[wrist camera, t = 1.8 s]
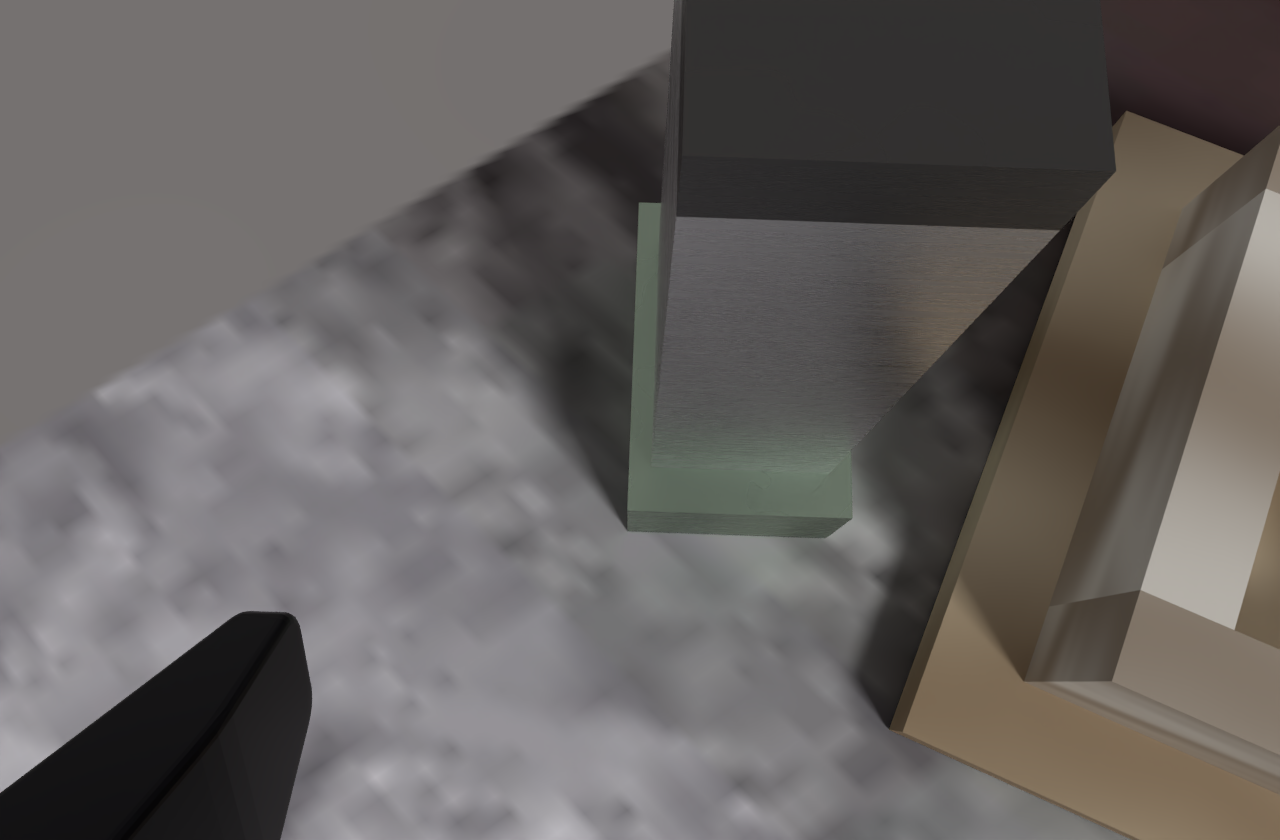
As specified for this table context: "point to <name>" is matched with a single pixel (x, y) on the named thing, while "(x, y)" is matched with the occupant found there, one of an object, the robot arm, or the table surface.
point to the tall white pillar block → (838, 231)
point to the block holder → (1132, 517)
